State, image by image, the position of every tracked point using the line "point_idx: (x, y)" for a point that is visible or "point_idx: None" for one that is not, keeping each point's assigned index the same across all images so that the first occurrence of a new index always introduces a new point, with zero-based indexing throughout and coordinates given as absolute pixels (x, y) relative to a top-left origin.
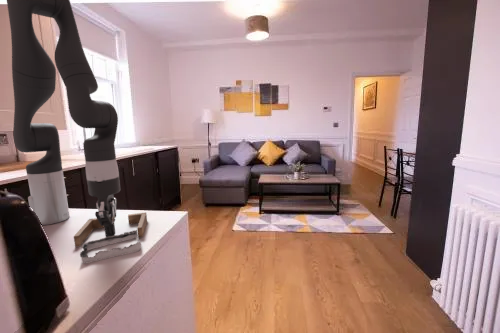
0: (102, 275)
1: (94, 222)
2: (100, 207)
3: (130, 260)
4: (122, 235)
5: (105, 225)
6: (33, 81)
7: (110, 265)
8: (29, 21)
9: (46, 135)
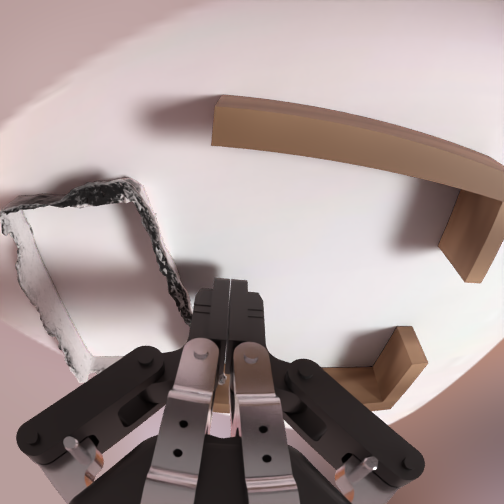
0: None
1: (487, 202)
2: (60, 494)
3: (37, 331)
4: None
5: (179, 351)
6: None
7: (10, 286)
8: None
9: None
